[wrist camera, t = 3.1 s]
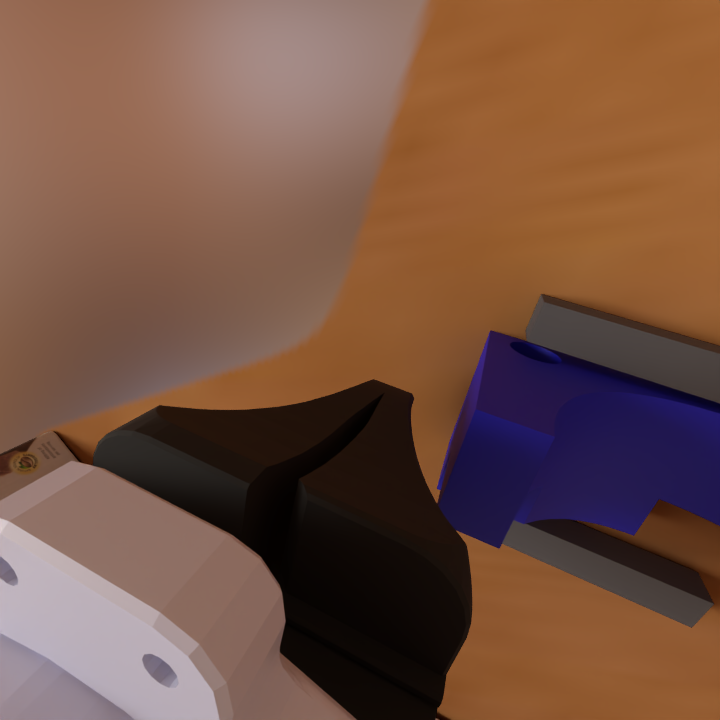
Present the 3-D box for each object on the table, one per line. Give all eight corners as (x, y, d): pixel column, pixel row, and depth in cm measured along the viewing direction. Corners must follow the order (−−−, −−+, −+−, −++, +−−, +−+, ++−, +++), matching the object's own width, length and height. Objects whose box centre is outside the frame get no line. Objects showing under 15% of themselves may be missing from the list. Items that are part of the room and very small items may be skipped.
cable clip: (450, 439, 15) (415, 565, 10) (490, 328, 13) (475, 409, 8) (834, 583, 12) (1086, 875, 7) (955, 468, 10) (1433, 744, 5)
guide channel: (677, 595, 14) (691, 627, 13) (452, 498, 15) (448, 519, 14) (859, 386, 10) (900, 407, 9) (541, 294, 12) (543, 301, 11)
